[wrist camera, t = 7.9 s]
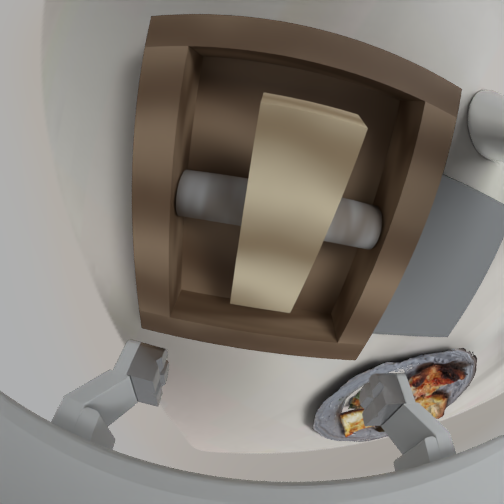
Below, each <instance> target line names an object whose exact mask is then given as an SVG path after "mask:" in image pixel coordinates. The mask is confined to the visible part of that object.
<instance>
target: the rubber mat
mask: <svg viewBox="0 0 504 504" xmlns="http://www.w3.org/2000/svg"><path fill="white" fill-rule="evenodd" d="M503 237H504V204H502V203H500V202H499V201H497V200H495V199H493V198H491V197H489V196H487V195H485V194H483V193H481V192H479V191H477V190H475V189H473V188H471V187H469V186H467V185H465V184H463V183H461V182H458V181H456V180H454V179H452V178H450V177H447V176H445V175H443V174H442V178H441V181H440V184H439V187H438V190H437V193H436V196H435V199H434V202H433V205H432V208H431V210H430V213H429V216H428V218H427V221H426V224H425V226H424V229H423V231H422V234H421V236H420V239H419V241H418V243H417V246H416V248H415V250H414V253H413V255H412V257H411V259H410V262H409V264H408V266H407V268H406V270H405V272H404V275H403V277H402V279H401V281H400V283H399V285H398V287H397V289H396V291H395V293H394V295H393V297H392V299H391V301H390V302H389V304H388V306H387V308H386V310H385V312H384V314H383V315H382V317H381V319H380V321H379V323H378V324H377V326H376V328H375V329H374V331H373V333H376V334H390V335H407V336H429V337H448V336H449V334H450V333H451V331H452V330H453V328H454V327H455V325H456V324H457V322H458V321H459V319H460V318H461V316H462V315H463V313H464V312H465V310H466V308H467V307H468V305H469V303H470V302H471V300H472V298H473V297H474V295H475V293H476V292H477V290H478V288H479V286H480V284H481V283H482V281H483V279H484V277H485V275H486V273H487V271H488V269H489V267H490V265H491V263H492V261H493V259H494V257H495V255H496V253H497V251H498V249H499V246H500V244H501V242H502V240H503Z"/></svg>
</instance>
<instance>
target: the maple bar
mask: <svg viewBox="0 0 504 504" xmlns="http://www.w3.org/2000/svg"><path fill="white" fill-rule="evenodd" d="M367 129H368V128H367V126H366V125H365V124H364V122H363V121H362V119H361V118H360V117H359V115H357V114H354V113H351V112H347V111H344V110H341V109H337V108H333V107H329V106H326V105H322V104H318V103H314V102H309V101H305V100H300V99H296V98H291V97H286V96H281V95H275V94H270V93H263V96H262V100H261V103H260V109H259V115H258V121H257V127H256V134H255V140H254V146H253V152H252V159H251V165H250V171H249V178H248V184H247V191H246V197H245V204H244V210H243V217H242V224H241V230H240V237H239V244H238V251H237V258H236V265H235V272H234V279H233V286H232V293H231V300H230V304H235V305H241V306H247V307H253V308H260V309H266V310H273V311H280V312H286V313H290V312H291V310H292V308H293V306H294V304H295V302H296V300H297V298H298V296H299V294H300V292H301V289H302V287H303V285H304V283H305V281H306V279H307V277H308V274H309V272H310V270H311V268H312V266H313V263H314V261H315V259H316V257H317V255H318V252H319V250H320V248H321V246H322V243H323V241H324V239H325V236H326V234H327V232H328V229H329V227H330V225H331V222H332V220H333V218H334V215H335V213H336V210H337V208H338V205H339V203H340V201H341V198H342V196H343V193H344V191H345V188H346V186H347V183H348V180H349V178H350V175H351V173H352V170H353V167H354V165H355V162H356V159H357V157H358V154H359V151H360V149H361V146H362V143H363V140H364V138H365V135H366V132H367Z"/></svg>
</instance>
